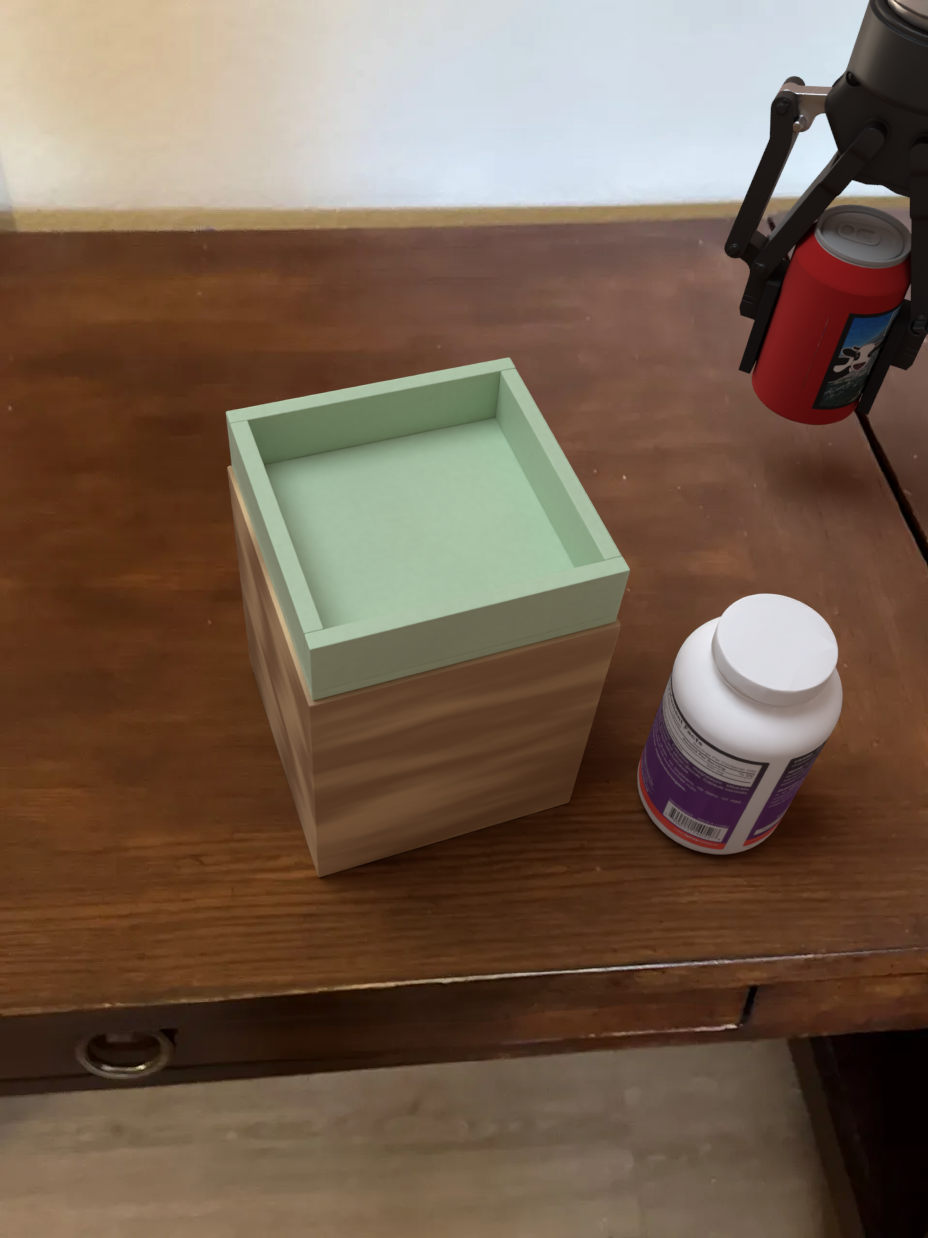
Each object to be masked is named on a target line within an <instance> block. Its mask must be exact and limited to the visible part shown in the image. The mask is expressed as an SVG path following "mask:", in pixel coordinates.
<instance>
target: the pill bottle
mask: <svg viewBox="0 0 928 1238" xmlns="http://www.w3.org/2000/svg"><path fill="white" fill-rule="evenodd" d="M838 646H839V645H838V642H837V639H836V636H835V634H834V632H833V630H832V628H831V626H830V625H829V623H828V622H827V621H826V620H825V618H824V617H823V616H822V615H820V614H819V613H818V612H817V611H816V610H815V609H814V608H812V607H811V606H808V605H807V604H806V603H804V602H802V601H800V600H797V599H795V598H792V597H789V596H786V595H782V594H776V593H757V594H752V595H747V596H744V597H742V598H740V599H738V600H736V601H735V602H733V603H731V604H730V605H729V606H728V607H727V608H726V609H725V610H724V612H723V613H722V614H721V616H718V617H716V618H713V619H711V620H709V621H707V622H705V623H703V624H702V625H700V626H699V627H697V628H696V629H694V631H693V632H692V633H690V635H688V636H687V638H686V639H685V641H684V642H683V643H682V645H681V647H680V648H679V650H678V652H677V654H676V656H675V659H674V662H673V665H672V668H671V671H670V674H669V677H668V680H667V683H666V685H665V689H664V691H663V694H662V696H661V699H660V702H659V705H658V708H657V710H656V714H655V717H654V720H653V723H652V724H651V728H650V731H649V732H648V733H649V734H648V735H647V739H646V741H645V744H644V747H643V750H642V753H641V755H640V759H639V762H638V767H637V773H636V774H637V776H636V782H637V789H638V795H639V797H640V801H641V803H642V805H643V807H644V810H645V812H646V813H647V815H648V816H649V818H650V819H651V821H652V822H653V823H654V825H656V826H657V828H658V829H659V830H660V831H661V832H662V833H663V834H664V835H666V836H667V837H668V838H670V839H671V840H673V841H674V842H675V843H677V844H679V845H681V846H683V847H685V848H688V849H690V850H693V851H696V852H700V853H705V854H710V855H731V854H737V853H741V852H745V851H747V850H751V849H752V848H754V847H756V846H758V845H760V844H761V843H762V842H764V841H765V840H766V839H767V838H769V836H771V835H772V833H774V831H775V830H776V828H777V827H778V826H779V824H780V822H781V821H782V819H783V817H784V816H785V814H786V812H787V810H788V808H789V807H790V805H791V804H792V802H793V800H794V798H795V796H796V795H797V793H798V791H799V790H800V788H801V786H802V784H803V783H804V781H805V779H806V777H807V776H808V774H809V772H810V771H811V769H812V767H813V765H814V764H815V762H816V760H817V759H818V757H819V755H820V754H821V752H822V750H823V748H824V747H825V745H826V743H827V742H828V740H829V738H830V736H831V735H832V733H833V731H834V730H835V728H836V726H837V724H838V722H839V720H840V716H841V712H842V707H843V696H844V695H843V686H842V685H843V684H842V681H841V677H840V675H839V674H840V673H839V672H838V669H837V663H838V659H839V647H838Z"/></svg>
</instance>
